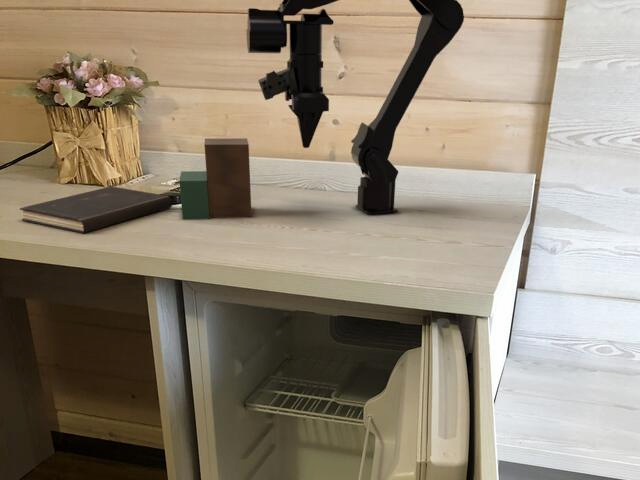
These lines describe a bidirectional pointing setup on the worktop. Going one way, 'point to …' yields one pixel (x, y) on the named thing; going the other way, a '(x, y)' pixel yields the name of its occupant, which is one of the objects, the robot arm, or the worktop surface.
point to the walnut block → (228, 177)
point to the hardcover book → (95, 209)
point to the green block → (194, 195)
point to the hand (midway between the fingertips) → (305, 147)
